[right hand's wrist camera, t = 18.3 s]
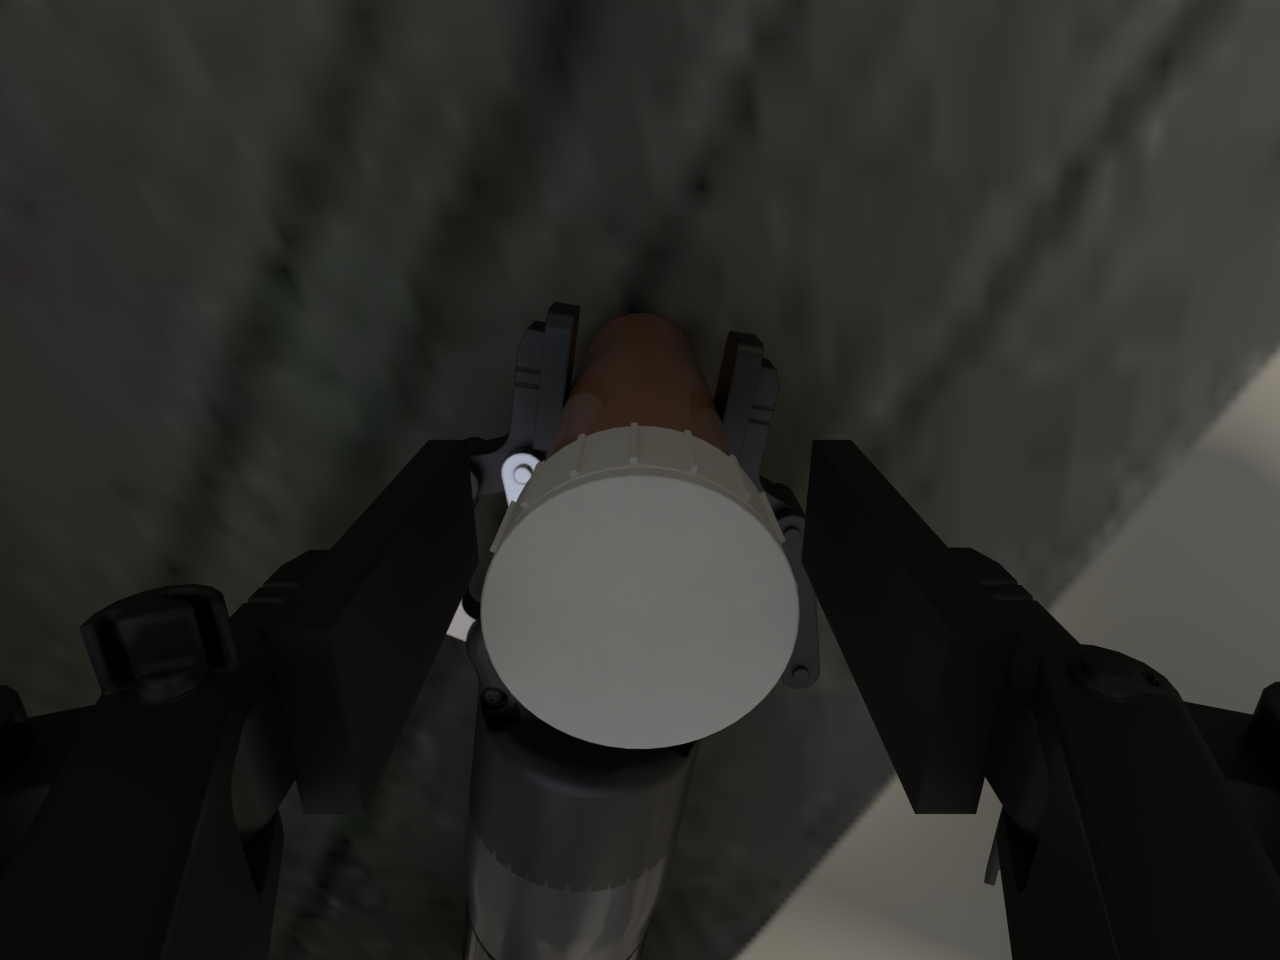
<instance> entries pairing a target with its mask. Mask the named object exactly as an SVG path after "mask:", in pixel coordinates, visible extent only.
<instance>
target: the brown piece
mask: <svg viewBox="0 0 1280 960" xmlns="http://www.w3.org/2000/svg"><path fill="white" fill-rule="evenodd" d="M631 423H638V426H654V427H661V428H668V429H673V430H676V431H680V432H683V433H684V431H685V430H689V431H691V433H692V436H694V437H697V438H699V439H702V440H704V441H706V442H708V443H709V444H711V445H713V446H714V447H716V448H718V449H720V450H721V451H722V452H724V453H725V454H726V455H727V456H730V455H731V454H733V455H734V453H733V450H732V448H731V445H730V443H729V440H728V437H727V435H726V432H725V429H724V427H723V424H722V422H721V419H720V416H719V414H718V411H717V408H716V406H715V403H714V400H713V398H712V395H711V393H710V390H709V387H708V385H707V382H706V379H705V377H704V374H703V371H702V369H701V366H700V364H699V361H698V358H697V356H696V353H695V351H694V348H693V346H692V344H691V342H690V341H689V339H688V337H687V336H686V335H685V334H684V332H683V331H682V330H681V329H679V328H678V327H677V326H676V325H675V324H673V323H672V322H670V321H668V320H666V319H665V318H662V317H659V316H657V315H652V314H646V313H633V314H627V315H623V316H620V317H617V318H615V319H613V320H611V321H610V322H608V323H606V324H605V325H604V326H603V327H601V328H600V329H599V330H598V331H597V332H596V333H595V334H594V336H593V337H592V339H591V340H590V342H589V343H588V345H587V347H586V350H585V352H584V355H583V358H582V360H581V363H580V366H579V368H578V371H577V373H576V376H575V379H574V381H573V384H572V387H571V389H570V392H569V395H568V397H567V400H566V403H565V405H564V408H563V410H562V413H561V416H560V418H559V421H558V424H557V426H556V429H555V432H554V434H553V437H552V440H551V442H550V445H549V447H548V450H547V453H546V455H545V458H544V461H543V463H544V462H545V461H546V460H547V459H549V458H550V457H551V456H552V455H554V454H555V453H556V452H558V451H559V450H561V449H562V448H563V447H565V446H567V445H569V444H571V443H573V442H574V441H576V440H578V436H579V435H581V434H583V433H585V435H586V436H588V435H591V434H593V433H596V432H600V431H604V430H608V429H612V428H619V427H628V426H631Z"/></svg>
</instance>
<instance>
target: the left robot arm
mask: <svg viewBox="0 0 1280 960" xmlns="http://www.w3.org/2000/svg"><path fill="white" fill-rule="evenodd" d="M579 314H580V306H578V305H571V304H565V303H559V302H554V303H553V305H552V306H551V307H550V308H549V310H548V314H547V319H546V322H541V321H534V322H533V323H532V324H531V325H530V326H529V327H528V329H527V330H526V332H525V334H524V336H523V338H522V340H521V341H520V343H519V345H518V348H517V359H516V370H515V381H514V382H515V384H514V391H513V402H512V413H511V424H510V433H508V434H507V435H505V436H503V437H500V438H495V439H489V440H484V439H481V438H478V437H471V438H467V439H465V440H467V444H468V454H469V465H470V475H471V485H472V495H473V506H474V509H475V507H476V504H477V502H478V500H479V497H481V496H486V495H492V494H497V493H503V492H505V493H506V498H507V502H508V507H509V505H510V503H511V501H515V502H516V501H517V499H518V496H519V495H520V493H521V491H522V490H523V488H524V486H525V485H526V483H527V481H528V480H529V479H530V478H531V476H532V473H533V471H534V468H535V466H536V464H537V463H538V462H539V461H541V462H542V463H543V461H544V458H545V455H546V453H547V450H548V447H549V445H550V442H551V440H552V437H553V434H554V432H555V429H556V426H557V424H558V421H559V418H560V416H561V413H562V410H563V408H564V405H565V403H566V400H567V397H568V395H569V392H570V388H571V380H572V372H573V364H574V356H575V347H576V339H577V331H578V323H579ZM778 392H779V383H778V377H777V370H776V368H775V367H774V366H773V365H772V363H771V362H770V361H769V360H768V359H767V358H763V343H762V342H761V341H760V340H759V339H758V338H757V337H756V335H753V334H747V333H741V332H735V331H730V332H729V334H728V337H727V341H726V345H725V350H724V355H723V360H722V365H721V370H720V374H719V379H718V384H717V389H716V394H715V399H714V403H715V406H716V408H717V411H718V414H719V416H720V419H721V422H722V424H723V427H724V429H725V432H726V435H727V437H728V440H729V443H730V445H731V448H732V450H733V453H734V456H735V457H736V458H737V461H738V463H739V466H740V467H741V468H742V469H743V470H744V471H745V472H746V474H747V475H748V476H749V478H750V479H751V481H752V482H753V483H754V485H755V486H756V488H757V490H758V491H759V493H762V492H765V494H766V496H767V499H768V501H769V503H770V505H771V508H772V510H773V512H774V515H775V517H776V519H777V521H778V524H779V526H780V528H781V531H782V533H783V535H784V537H785V540H786V541H784V542H782V543H781V544H782V546H783V549H784V551H785V554H786V556H787V558H788V560H789V563H790V566H791V569H792V571H793V574H794V577H795V579H796V581H797V584H798V595H799V609H800V619H799V627H798V635H797V638H796V642H795V645H794V649H793V652H792V655H791V657H790V659H789V661H788V664H787V666H786V668H785V670H784V672H783V673H782V675H781V678H782V681H783V682H784V683H785V684H786V685H787V686H789V687H791V688H796V689H802V688H806V687H809V686H811V685H812V684H813V683H815V682H816V680H817V679H818V677H819V674H820V664H819V644H818V625H817V606H816V593H815V591H814V589H813V587H812V585H811V582H810V580H809V578H808V576H807V574H806V571H805V569H804V567H803V565H802V563H801V557H802V547H803V536H804V526H805V516H806V515H805V514H804V512H803V510H802V508H801V506H800V504H799V502H798V501H797V499H796V497H795V495H794V493H793V491H792V490H791V489H790V488H789V487H788V486H786V485H784V484H779V483H772V482H770V481H768V480H767V479H765V478H763V477H762V476H760V475H759V473H760V467H761V463H762V459H763V455H764V451H765V446H766V442H767V438H768V434H769V430H770V424H771V421H772V417H773V413H774V408H775V405H776V401H777V396H778ZM480 606H481V603H479V602H477V601H476V600H475V599H474V598H473V597H472V596H471V594H470V592H469V585H468V587H467V589H466V591H465V593H464V596H463V598H462V600H461V602H460V605H459V607H458V609H457V611H456V613H455V616H454V618H453V620H452V622H451V624H450V627H449V629H448V631H447V633H446V634H447V635H450V636H452V637H455V638H457V639H460V640H462V641H465V642H466V650H467V654H468V657H469V659H470V661H471V662H472V664H473V666H474V668H475V670H476V672H477V675H478V680H479V694H478V705H477V716H476V727H475V739H474V750H473V761H472V773H471V784H470V794H469V806H468V818H467V830H466V841H465V868H466V880H467V888H468V898H467V907H466V918H465V929H464V939H463V952H462V960H640V959H641V955H642V951H643V947H644V943H645V938H646V934H647V930H648V926H649V921H650V918H651V916H652V914H653V912H654V910H655V907H656V905H657V903H658V901H659V898H660V896H661V894H662V891H663V888H664V885H665V882H666V878H667V875H668V871H669V868H670V863H671V859H672V855H673V851H674V847H675V843H676V839H677V834H678V830H679V826H680V822H681V818H682V814H683V810H684V805H685V802H686V798H687V794H688V789H689V785H690V781H691V777H692V773H693V769H694V765H695V760H696V756H697V752H698V748H699V744H700V740H701V739H698V740H695V741H691V742H688V743H685V744H680V745H674V746H669V747H662V748H651V749H627V748H618V747H610V746H605V745H601V744H596V743H592V742H588V741H585V740H582V739H579V738H576V737H573V736H571V735H569V734H567V733H565V732H562V731H560V730H558V729H556V728H554V727H553V726H551V725H549V724H548V723H546V722H544V721H543V720H541V719H539V718H538V717H537V716H536V715H534V714H533V713H532V712H531V711H529V710H528V709H527V708H526V707H524V706H523V705H522V704H521V703H520V702H519V701H518V700H517V699H516V698H515V697H514V696H513V694H512V693H511V692H510V691H509V689H508V688H507V687H506V685H505V684H504V683H503V681H502V680H501V679H500V677H499V675H498V673H497V671H496V670H495V668H494V666H493V664H492V662H491V659H490V657H489V654H488V652H487V649H486V647H485V642H484V638H483V634H482V629H481V617H480Z"/></svg>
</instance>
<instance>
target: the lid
mask: <svg viewBox="0 0 1280 960" xmlns="http://www.w3.org/2000/svg"><path fill="white" fill-rule="evenodd" d="M784 541H786V540H785V537H784V535H783V533H782V531H781V528H780V526H779V524H778V521H777V519H776V517H775V515H774V512H773V510H772V508H771V505H770V503H769V501H768V499H767V496H766V494H765V492H762V493H759V491H758V490H757V488H756V486H755V485H754V483H753V482H752V481H751V479H750V478H749V476H748V475H747V474H746V472H745V471H744V470H743V469H742V468H741V467H740V466H739V463H738V461H737V458H736V457H735V456H734V455H733V454H731V455H730V456H727V455H726V454H725V453H724V452H722V451H721V450H720V449H718V448H716V447H714V446H713V445H711V444H709V443H708V442H706V441H704V440H702V439H699V438H697V437H694V436H692V433H691V431H689V430H685V431H684V433H683V432H680V431H676V430H673V429H668V428H661V427H654V426H638V423H631V426H628V427H619V428H612V429H608V430H604V431H600V432H596V433H593V434H591V435H588V436H586V435H585V433H583V434H581V435H579V436H578V440H576V441H574V442H573V443H571V444H569V445H567V446H565V447H563V448H562V449H561V450H559V451H558V452H556V453H555V454H554V455H552V456H551V457H550V458H549V459H547V460H546V461H545V462H544V463H542V462H541V461H539V462H538V463H537V464H536V466H535V468H534V471H533V473H532V476H531V478H530V479H529V480H528V481H527V483H526V485H525V486H524V488H523V490H522V491H521V493H520V495H519V496H518V499H517V501H516V502H515V501H511V503H510V505H509V507H508V509H507V512H506V514H505V516H504V519H503V521H502V523H501V525H500V528H499V530H498V532H497V535H496V537H495V539H494V541H493V544H492V546H491V548H490V551H491V552H494V553H495V554H494V556H493V559H492V561H491V564H490V566H489V569H488V571H487V574H486V576H485V581H484V585H483V589H482V593H481V606H480V617H481V629H482V634H483V638H484V642H485V647H486V649H487V652H488V654H489V657H490V659H491V662H492V664H493V666H494V668H495V670H496V671H497V673H498V675H499V677H500V679H501V680H502V681H503V683H504V684H505V685H506V687H507V688H508V689H509V691H510V692H511V693H512V694H513V696H514V697H515V698H516V699H517V700H518V701H519V702H520V703H521V704H522V705H523V706H524V707H526V708H527V709H528V710H529V711H531V712H532V713H533V714H534V715H536V716H537V717H538V718H539V719H541V720H543V721H544V722H546V723H548V724H549V725H551V726H553V727H554V728H556V729H558V730H560V731H562V732H565V733H567V734H569V735H571V736H573V737H576V738H579V739H582V740H585V741H588V742H592V743H596V744H601V745H605V746H610V747H618V748H627V749H651V748H662V747H669V746H674V745H680V744H685V743H688V742H691V741H695V740H698V739H701V738H704V737H706V736H708V735H711V734H713V733H715V732H718V731H720V730H722V729H724V728H725V727H727V726H729V725H731V724H732V723H734V722H736V721H737V720H739V719H740V718H741V717H743V716H744V715H746V714H747V713H748V712H750V711H751V710H752V709H753V708H754V707H755V706H756V705H757V704H758V703H760V702H761V701H762V700H763V699H764V698H765V697H766V695H767V694H768V693H769V692H770V690H771V689H772V688H773V687H774V686H775V684H776V683H777V681H778V680H779V678H780V676H781V675H782V673H783V672H784V670H785V668H786V666H787V664H788V661H789V659H790V657H791V655H792V652H793V649H794V645H795V642H796V638H797V635H798V627H799V619H800V609H799V595H798V584H797V581H796V579H795V577H794V574H793V571H792V569H791V566H790V563H789V560H788V558H787V556H786V554H785V551H784V549H783V546H782V544H781V543H782V542H784Z"/></svg>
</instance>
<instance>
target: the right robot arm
mask: <svg viewBox="0 0 1280 960" xmlns="http://www.w3.org/2000/svg"><path fill="white" fill-rule="evenodd" d="M478 563H479V557H478V547H477V536H476V526H475V516H474V506H473V495H472V485H471V475H470V465H469V454H468V444H467V440H428V442H427V443H426V444H425V445H424V446H423V447H422V448H421V449H420V450H419V452H418V453H417V454H416V455H415V456H414V457H413V458H412V459H411V460H410V462H409V463H408V464H407V465H406V466H405V467H404V468H403V469H402V470H401V472H400V473H399V474H398V475H397V476H396V477H395V478H394V479H393V480H392V482H391V483H390V484H389V485H388V486H387V487H386V488H385V489H384V490H383V492H382V493H381V494H380V495H379V496H378V497H377V498H376V499H375V500H374V502H373V503H372V504H371V505H370V506H369V507H368V508H367V509H366V510H365V512H364V513H363V514H362V515H361V516H360V517H359V518H358V519H357V520H356V522H355V523H354V524H353V525H352V526H351V527H350V528H349V529H348V530H347V531H346V533H345V534H344V535H343V536H342V537H341V538H340V539H339V540H338V541H337V543H336V544H335V545H334V546H333V547H332V548H331V549H330V550H309V551H307V552H305V553H304V554H302V555H300V556H298V557H296V558H294V559H293V560H291V561H289V562H287V563H285V564H284V565H282V566H281V567H280V568H279V569H278V570H277V571H276V572H275V573H274V574H273V575H272V576H271V577H270V578H269V579H268V580H267V581H266V582H265V583H264V584H263V588H259V589H258V590H257V591H256V592H255V593H254V594H253V595H252V596H251V597H250V598H249V599H248V603H244V604H243V605H242V606H241V607H240V608H239V609H238V610H237V611H236V612H235V613H234V614H233V615H232V616H231V617H230V618H229V616H228V612H227V608H226V604H225V600H224V596H223V593H221V592H220V591H218V590H216V589H215V588H213V587H211V586H204V585H197V584H186V585H173V586H166V587H161V588H157V589H153V590H148V591H144V592H140V593H138V594H135V595H132V596H130V597H127V598H124V599H122V600H119V601H116V602H114V603H112V604H111V605H109V606H107V607H105V608H104V609H102V610H100V611H98V612H96V613H95V614H93V615H92V616H91V617H90V618H89V619H88V620H87V621H86V622H85V623H84V624H83V625H82V626H80V627H79V628H80V631H81V634H82V637H83V640H84V643H85V645H86V648H87V651H88V654H89V657H90V660H91V662H92V665H93V668H94V671H95V674H96V677H97V679H98V682H99V685H100V688H101V691H102V694H101V696H100V698H99V700H98V701H97V703H96V705H92V706H87V707H82V708H77V709H71V710H66V711H61V712H56V713H51V714H46V715H40V716H35V717H30V718H28V716H27V714H26V711H25V709H24V706H23V704H22V701H21V699H20V697H19V694H18V692H16V691H15V690H13V689H11V688H10V687H8V686H6V685H0V960H268V955H269V947H270V940H271V932H272V925H273V917H274V910H275V902H276V895H277V887H278V880H279V872H280V865H281V857H282V850H283V842H284V833H283V827H282V821H281V818H280V814H279V810H278V807H279V806H280V804H281V802H282V801H283V799H284V797H285V796H286V794H287V792H288V791H289V789H290V787H291V786H292V784H293V782H294V781H295V779H296V783H297V787H298V791H299V795H300V799H301V803H302V808H303V812H304V814H365V812H366V810H367V808H368V806H369V803H370V801H371V799H372V797H373V795H374V792H375V790H376V788H377V786H378V783H379V781H380V779H381V777H382V775H383V772H384V770H385V768H386V766H387V764H388V761H389V759H390V757H391V755H392V753H393V750H394V748H395V746H396V744H397V742H398V739H399V737H400V735H401V733H402V730H403V728H404V726H405V724H406V722H407V719H408V717H409V715H410V713H411V711H412V708H413V706H414V704H415V702H416V700H417V697H418V695H419V693H420V691H421V688H422V686H423V684H424V682H425V680H426V677H427V675H428V673H429V671H430V669H431V666H432V664H433V662H434V660H435V658H436V655H437V653H438V651H439V649H440V647H441V644H442V642H443V640H444V638H445V635H446V633H447V631H448V629H449V627H450V624H451V622H452V620H453V618H454V616H455V613H456V611H457V609H458V607H459V605H460V602H461V600H462V598H463V596H464V593H465V591H466V589H467V587H468V585H469V582H470V580H471V578H472V576H473V574H474V571H475V569H476V567H477V565H478ZM801 563H802V565H803V567H804V569H805V571H806V574H807V576H808V578H809V580H810V582H811V585H812V587H813V589H814V591H815V593H816V596H817V598H818V600H819V602H820V605H821V607H822V609H823V611H824V613H825V616H826V618H827V620H828V622H829V624H830V627H831V629H832V631H833V633H834V635H835V638H836V640H837V642H838V644H839V647H840V649H841V651H842V653H843V655H844V658H845V660H846V662H847V664H848V666H849V669H850V671H851V673H852V675H853V677H854V680H855V682H856V684H857V686H858V688H859V691H860V693H861V695H862V697H863V700H864V702H865V704H866V706H867V708H868V711H869V713H870V715H871V717H872V719H873V722H874V724H875V726H876V728H877V730H878V733H879V735H880V737H881V739H882V742H883V744H884V746H885V748H886V750H887V753H888V755H889V757H890V759H891V761H892V764H893V766H894V768H895V770H896V772H897V775H898V777H899V779H900V781H901V783H902V786H903V788H904V790H905V792H906V794H907V797H908V799H909V801H910V803H911V806H912V808H913V810H914V812H915V814H976V812H977V808H978V803H979V799H980V795H981V791H982V787H983V783H984V778H985V777H986V779H987V780H988V782H989V784H990V785H991V787H992V789H993V790H994V792H995V793H996V795H997V797H998V798H999V800H1000V802H1001V803H1002V805H1003V806H1002V810H1001V814H1000V818H999V821H998V825H997V829H996V833H995V837H994V841H993V845H992V849H991V853H990V856H989V860H988V864H987V868H986V874H985V880H984V883H987V884H990V885H995V881H996V877H997V873H998V870H1001V878H1002V885H1003V893H1004V900H1005V907H1006V915H1007V923H1008V930H1009V937H1010V945H1011V952H1012V960H1280V682H1275V683H1273V684H1271V685H1270V686H1268V687H1266V688H1265V689H1263V692H1262V694H1261V697H1260V699H1259V701H1258V704H1257V706H1256V709H1255V711H1254V714H1253V715H1252V714H1246V713H1241V712H1236V711H1231V710H1226V709H1220V708H1215V707H1210V706H1205V705H1200V704H1194V703H1189V702H1185V701H1183V700H1182V698H1181V696H1180V695H1179V693H1178V691H1177V690H1176V689H1175V688H1174V687H1173V686H1172V684H1171V683H1170V682H1169V681H1168V680H1167V679H1166V678H1165V677H1164V676H1163V675H1161V674H1160V673H1158V672H1157V671H1155V670H1154V669H1152V668H1151V667H1149V666H1148V665H1146V664H1145V663H1143V662H1141V661H1138V660H1136V659H1134V658H1132V657H1129V656H1127V655H1125V654H1122V653H1120V652H1117V651H1113V650H1109V649H1105V648H1102V647H1098V646H1094V645H1083V644H1080V643H1079V642H1078V641H1077V640H1076V639H1075V638H1074V637H1073V636H1072V635H1071V634H1070V633H1069V632H1068V631H1067V630H1066V629H1065V628H1063V626H1062V625H1061V624H1060V623H1058V621H1057V620H1056V619H1055V618H1054V617H1053V616H1052V615H1051V614H1050V613H1049V612H1048V611H1047V610H1046V609H1044V608H1043V607H1042V606H1041V605H1040V604H1039V603H1038V602H1037V601H1033V597H1032V596H1031V595H1030V594H1029V593H1028V592H1027V591H1026V590H1025V589H1024V588H1023V587H1022V586H1021V585H1017V581H1016V580H1015V579H1014V578H1013V577H1012V576H1011V575H1010V574H1009V573H1008V572H1007V571H1006V570H1005V569H1004V568H1003V567H1002V566H1001V565H1000V564H999V563H998V562H996V561H994V560H992V559H990V558H989V557H987V556H985V555H983V554H981V553H979V552H978V551H976V550H974V549H972V548H948V547H947V546H946V545H945V544H944V543H943V541H942V540H941V539H940V538H939V537H938V536H937V535H936V534H935V533H934V531H933V530H932V529H931V528H930V527H929V526H928V525H927V524H926V523H925V522H924V520H923V519H922V518H921V517H920V516H919V515H918V514H917V513H916V512H915V510H914V509H913V508H912V507H911V506H910V505H909V504H908V503H907V502H906V500H905V499H904V498H903V497H902V496H901V495H900V494H899V493H898V492H897V490H896V489H895V488H894V487H893V486H892V485H891V484H890V483H889V482H888V480H887V479H886V478H885V477H884V476H883V475H882V474H881V473H880V472H879V470H878V469H877V468H876V467H875V466H874V465H873V464H872V463H871V462H870V460H869V459H868V458H867V457H866V456H865V455H864V454H863V453H862V452H861V450H860V449H859V448H858V447H857V446H856V445H855V444H854V443H853V442H852V440H813V444H812V454H811V465H810V475H809V485H808V495H807V506H806V516H805V526H804V536H803V547H802V557H801Z"/></svg>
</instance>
